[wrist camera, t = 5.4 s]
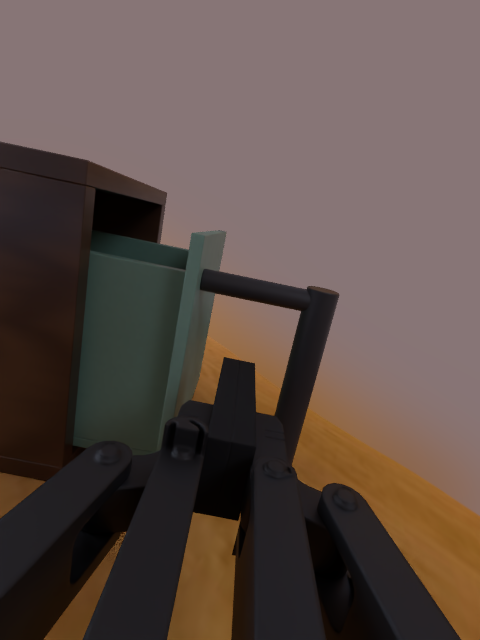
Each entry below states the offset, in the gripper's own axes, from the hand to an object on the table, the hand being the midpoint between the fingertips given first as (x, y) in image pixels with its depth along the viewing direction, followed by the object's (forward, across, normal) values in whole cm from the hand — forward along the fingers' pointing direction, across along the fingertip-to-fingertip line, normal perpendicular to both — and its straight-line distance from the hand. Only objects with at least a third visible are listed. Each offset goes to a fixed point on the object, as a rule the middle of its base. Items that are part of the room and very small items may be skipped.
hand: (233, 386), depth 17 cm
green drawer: (+7, -6, -6) cm, 11 cm away
